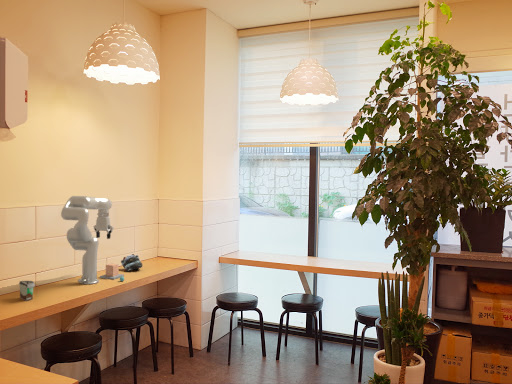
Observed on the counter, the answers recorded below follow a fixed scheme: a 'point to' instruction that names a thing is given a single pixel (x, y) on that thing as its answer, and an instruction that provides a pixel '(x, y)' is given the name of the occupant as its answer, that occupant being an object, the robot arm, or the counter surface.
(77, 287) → the counter surface
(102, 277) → the slate board
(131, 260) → the lucky cat figurine
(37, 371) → the counter surface
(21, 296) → the food container
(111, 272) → the peach rectangular block
